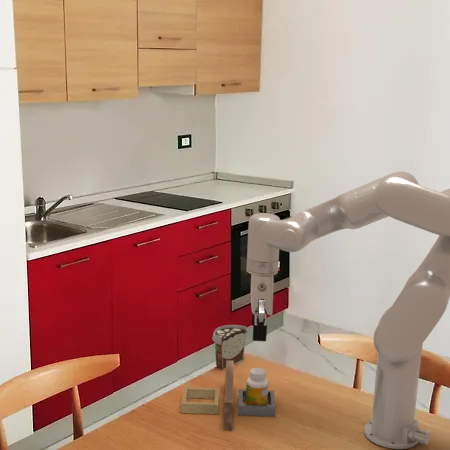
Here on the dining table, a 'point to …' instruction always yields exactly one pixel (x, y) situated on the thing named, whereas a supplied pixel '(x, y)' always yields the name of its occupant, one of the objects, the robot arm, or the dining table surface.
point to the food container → (229, 344)
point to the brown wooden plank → (228, 395)
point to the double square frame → (213, 407)
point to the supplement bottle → (257, 387)
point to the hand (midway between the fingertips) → (258, 333)
